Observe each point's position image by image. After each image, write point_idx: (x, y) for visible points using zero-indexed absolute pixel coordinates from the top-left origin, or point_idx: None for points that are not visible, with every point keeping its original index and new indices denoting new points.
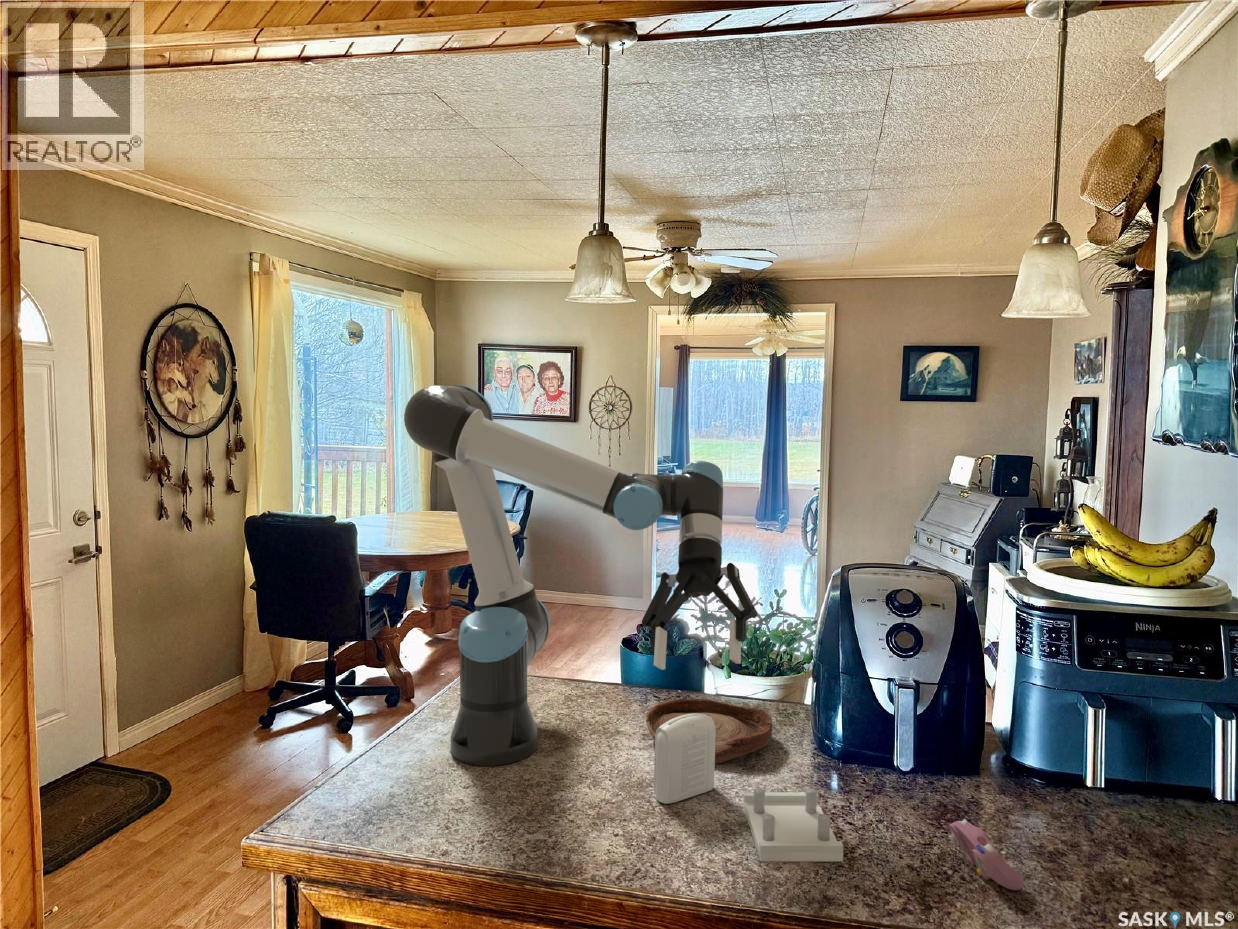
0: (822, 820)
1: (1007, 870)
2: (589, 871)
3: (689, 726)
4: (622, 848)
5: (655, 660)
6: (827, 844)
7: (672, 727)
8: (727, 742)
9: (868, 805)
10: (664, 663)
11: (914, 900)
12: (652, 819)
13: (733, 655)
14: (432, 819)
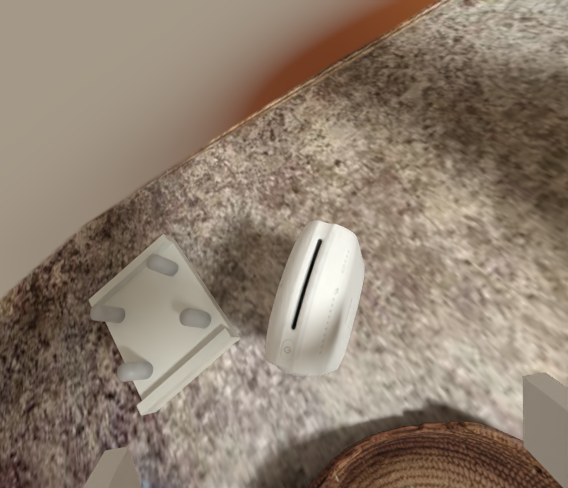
0: (97, 304)
1: None
2: (311, 100)
3: (284, 275)
4: (311, 150)
5: (557, 390)
6: (103, 289)
7: (305, 235)
8: (328, 486)
9: None
10: (545, 460)
11: (42, 288)
12: (324, 220)
13: (98, 463)
14: (563, 10)
